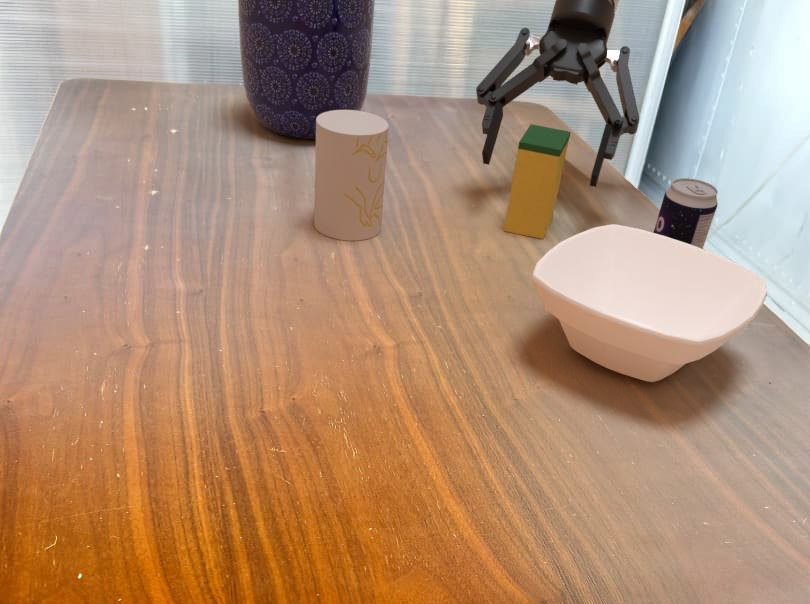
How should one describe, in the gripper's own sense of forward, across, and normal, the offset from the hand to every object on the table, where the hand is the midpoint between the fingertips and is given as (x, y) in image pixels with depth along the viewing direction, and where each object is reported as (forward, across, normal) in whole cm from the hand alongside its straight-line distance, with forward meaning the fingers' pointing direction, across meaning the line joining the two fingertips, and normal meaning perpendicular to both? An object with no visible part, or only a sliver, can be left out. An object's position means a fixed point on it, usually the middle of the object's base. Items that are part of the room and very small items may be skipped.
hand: (538, 170), depth 108 cm
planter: (-7, +38, -17) cm, 42 cm away
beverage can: (+12, -18, +3) cm, 22 cm away
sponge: (+5, 0, -4) cm, 7 cm away
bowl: (+24, -16, +14) cm, 32 cm away
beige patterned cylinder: (+14, +20, +4) cm, 25 cm away
